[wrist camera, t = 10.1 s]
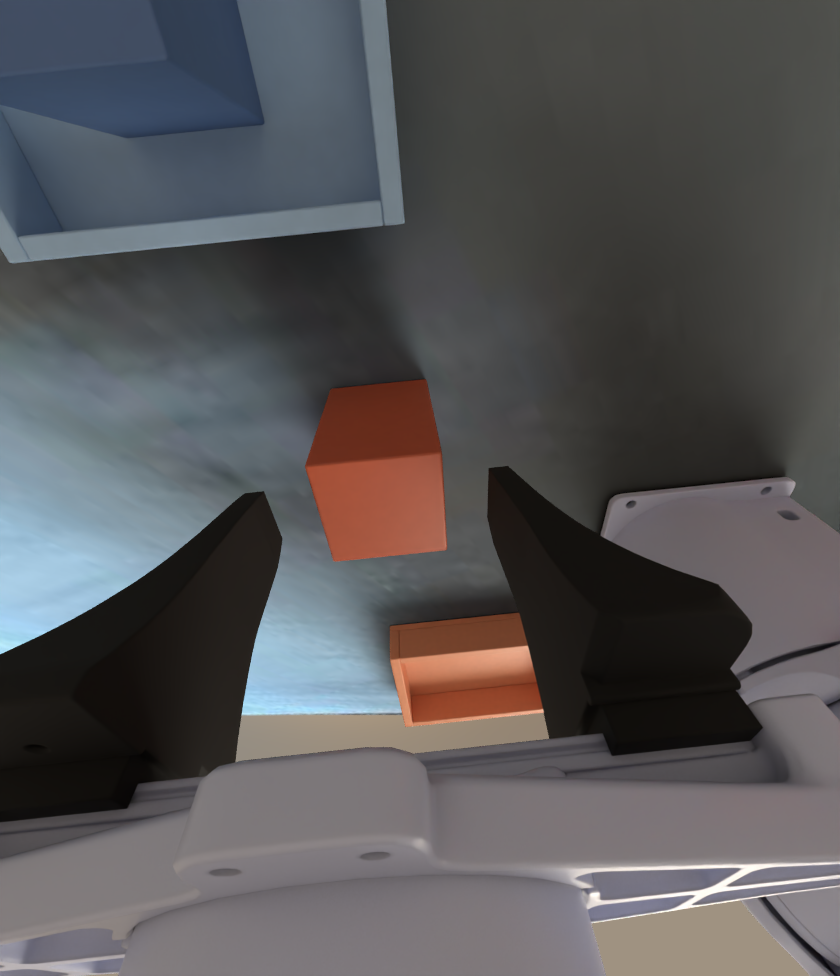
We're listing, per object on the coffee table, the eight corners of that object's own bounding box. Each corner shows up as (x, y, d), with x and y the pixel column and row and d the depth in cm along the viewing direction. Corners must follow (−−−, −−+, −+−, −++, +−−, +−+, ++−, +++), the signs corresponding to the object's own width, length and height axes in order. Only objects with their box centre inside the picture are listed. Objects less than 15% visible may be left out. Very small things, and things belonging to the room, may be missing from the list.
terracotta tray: (558, 608, 26) (572, 640, 24) (543, 680, 31) (554, 711, 29) (389, 625, 26) (389, 659, 24) (404, 694, 31) (405, 727, 29)
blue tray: (352, -353, 8) (338, -546, 6) (402, 221, 13) (405, 224, 11) (-226, -297, 8) (-440, -472, 6) (66, 255, 13) (8, 263, 11)
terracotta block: (426, 378, 16) (442, 451, 11) (432, 460, 18) (447, 550, 14) (329, 388, 16) (303, 466, 11) (348, 469, 18) (333, 562, 14)
